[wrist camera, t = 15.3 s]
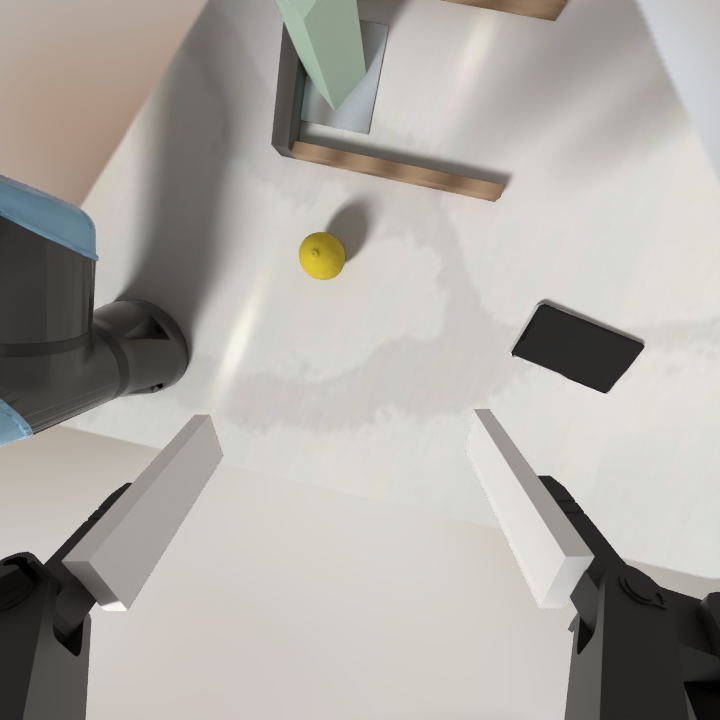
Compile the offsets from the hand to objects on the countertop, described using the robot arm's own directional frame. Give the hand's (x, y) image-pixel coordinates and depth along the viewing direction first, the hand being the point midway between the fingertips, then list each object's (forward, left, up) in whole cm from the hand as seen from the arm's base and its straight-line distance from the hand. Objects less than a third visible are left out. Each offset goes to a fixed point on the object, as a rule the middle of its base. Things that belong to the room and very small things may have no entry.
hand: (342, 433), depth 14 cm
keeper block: (-12, +28, -27) cm, 41 cm away
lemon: (-9, +8, -27) cm, 30 cm away
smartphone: (+27, +4, -28) cm, 39 cm away
